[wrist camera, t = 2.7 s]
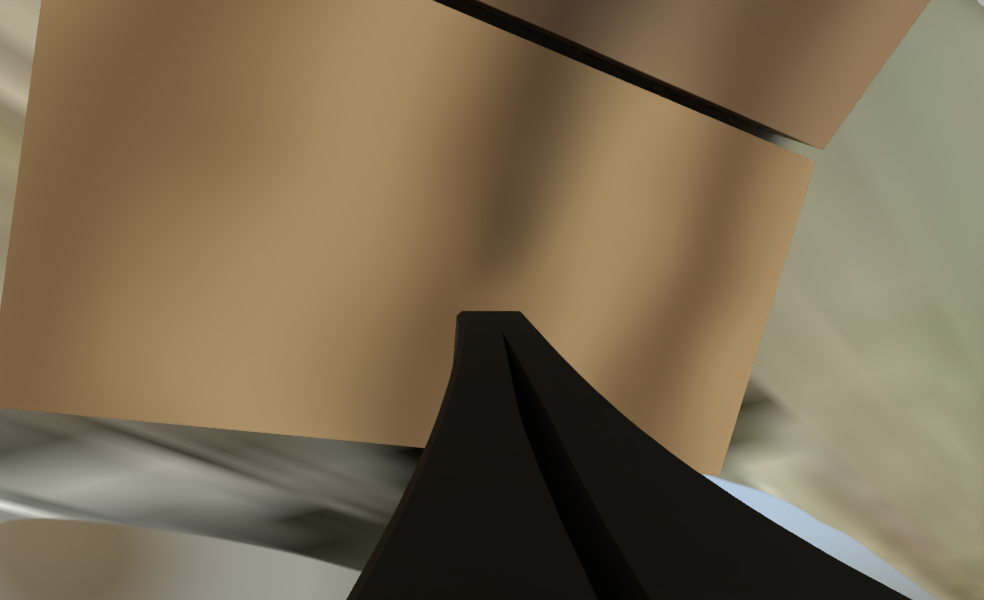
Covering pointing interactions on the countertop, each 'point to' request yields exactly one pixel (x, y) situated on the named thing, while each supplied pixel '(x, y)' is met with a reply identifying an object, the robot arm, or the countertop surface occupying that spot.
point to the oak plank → (371, 222)
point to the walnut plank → (738, 50)
